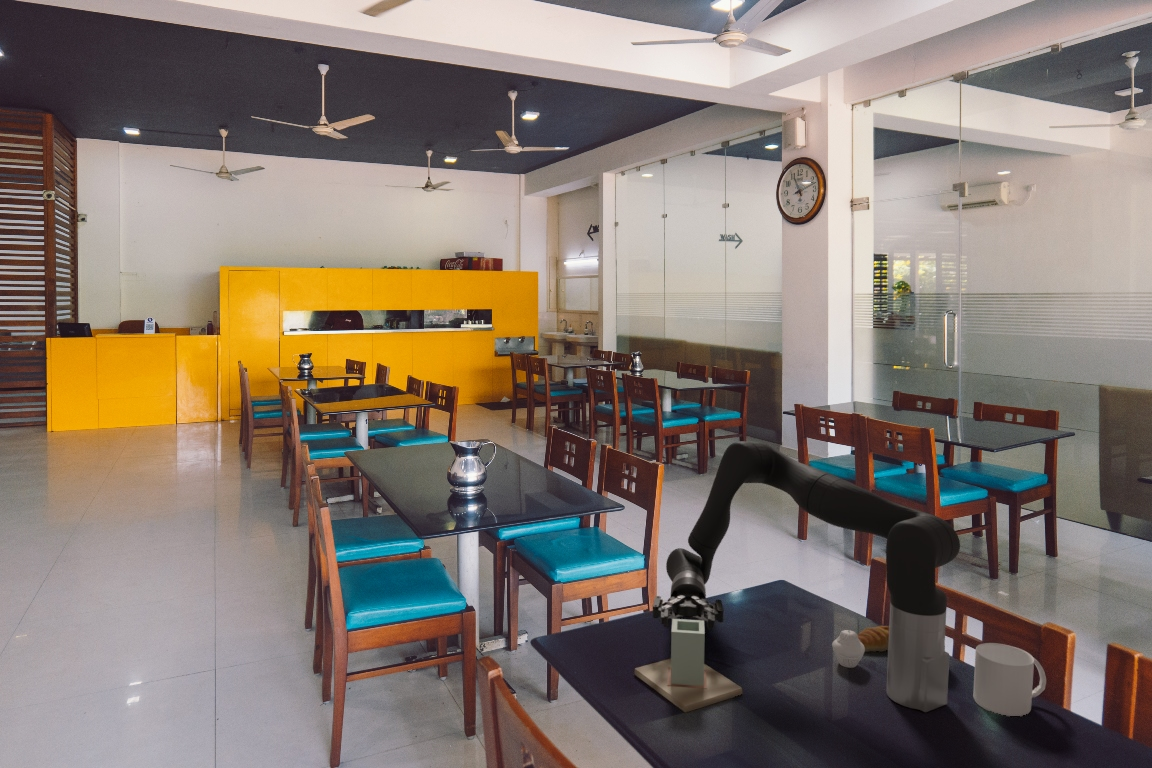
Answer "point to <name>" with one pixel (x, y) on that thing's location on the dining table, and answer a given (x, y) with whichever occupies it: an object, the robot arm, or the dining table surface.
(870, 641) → the pastry
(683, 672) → the sleeve
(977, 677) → the mug
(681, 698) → the post board
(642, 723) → the dining table surface
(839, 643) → the white piece
